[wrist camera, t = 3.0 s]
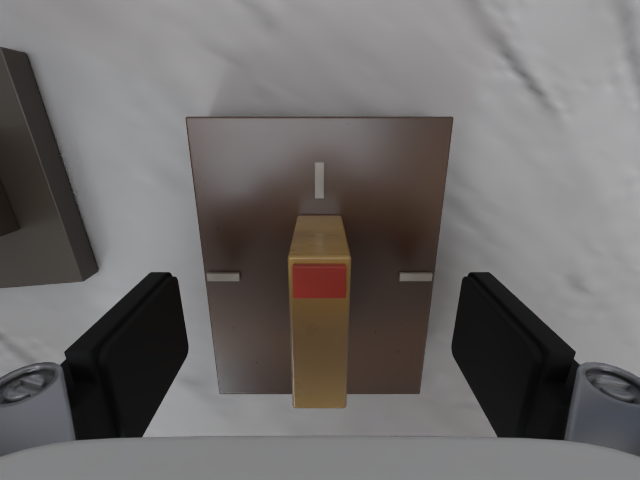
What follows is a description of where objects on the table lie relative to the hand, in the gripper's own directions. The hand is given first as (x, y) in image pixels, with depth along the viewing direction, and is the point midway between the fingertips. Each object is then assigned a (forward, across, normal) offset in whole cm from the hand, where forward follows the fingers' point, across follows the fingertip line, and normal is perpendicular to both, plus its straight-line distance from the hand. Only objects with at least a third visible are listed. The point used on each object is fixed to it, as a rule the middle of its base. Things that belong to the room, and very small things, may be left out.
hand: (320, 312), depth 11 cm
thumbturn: (+4, 0, 0) cm, 4 cm away
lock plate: (+6, 0, 0) cm, 6 cm away
